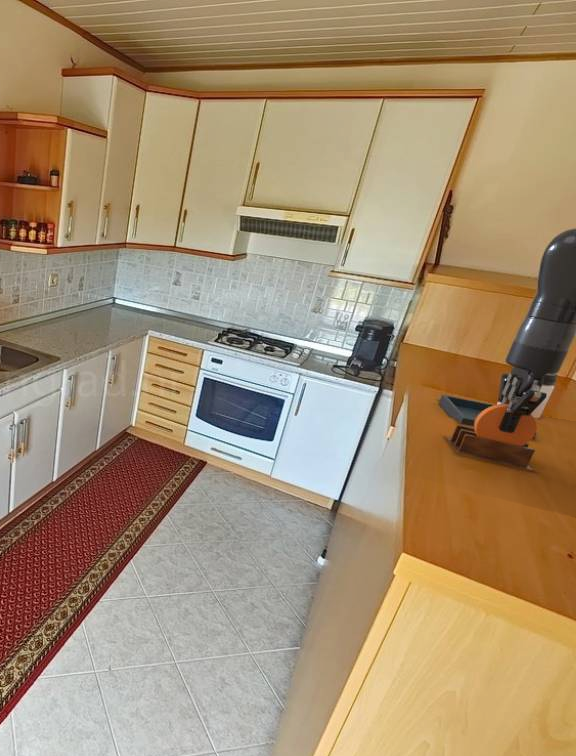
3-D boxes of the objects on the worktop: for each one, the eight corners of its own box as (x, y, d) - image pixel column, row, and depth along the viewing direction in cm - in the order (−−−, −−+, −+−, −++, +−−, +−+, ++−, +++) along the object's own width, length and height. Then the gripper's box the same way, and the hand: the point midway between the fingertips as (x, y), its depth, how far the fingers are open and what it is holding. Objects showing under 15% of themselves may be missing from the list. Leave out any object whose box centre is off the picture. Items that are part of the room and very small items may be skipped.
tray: (501, 416, 123) (505, 406, 122) (531, 443, 108) (536, 433, 107) (438, 403, 128) (442, 394, 127) (458, 427, 113) (463, 417, 112)
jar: (511, 418, 122) (532, 373, 118) (486, 406, 130) (505, 363, 126) (547, 422, 122) (569, 377, 118) (520, 409, 130) (540, 367, 126)
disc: (522, 452, 95) (541, 409, 92) (525, 455, 94) (545, 412, 91) (466, 440, 98) (483, 399, 95) (469, 443, 97) (486, 401, 94)
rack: (512, 456, 100) (522, 436, 99) (531, 476, 92) (542, 454, 91) (443, 440, 104) (451, 421, 103) (456, 458, 97) (465, 437, 95)
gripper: (587, 356, 81) (543, 448, 87) (549, 339, 93) (513, 421, 99) (531, 347, 84) (492, 437, 90) (501, 332, 96) (468, 413, 102)
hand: (503, 429), depth 95 cm, fingers closed on disc, 1 cm apart
